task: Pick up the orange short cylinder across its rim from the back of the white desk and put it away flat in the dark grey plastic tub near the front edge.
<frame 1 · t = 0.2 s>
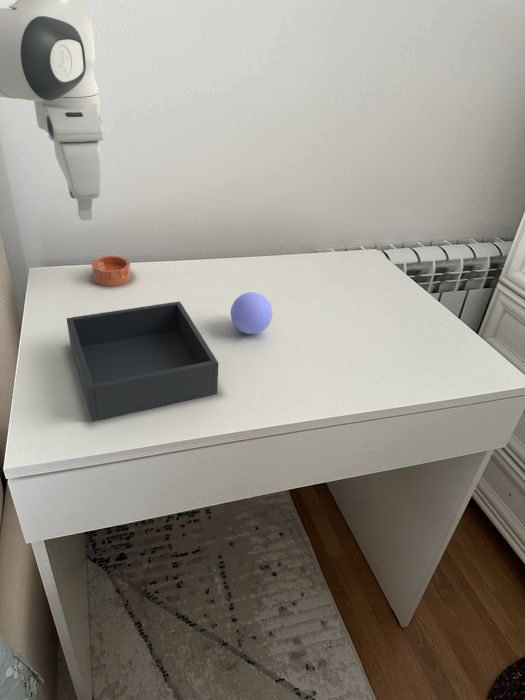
hand: (80, 207, 84), 18 cm above the table, tool pointing down, fingers open, 8 cm apart
sphere: (249, 331, 91), on the table
tub: (141, 370, 80), on the table
orange short cylinder: (112, 277, 102), on the table
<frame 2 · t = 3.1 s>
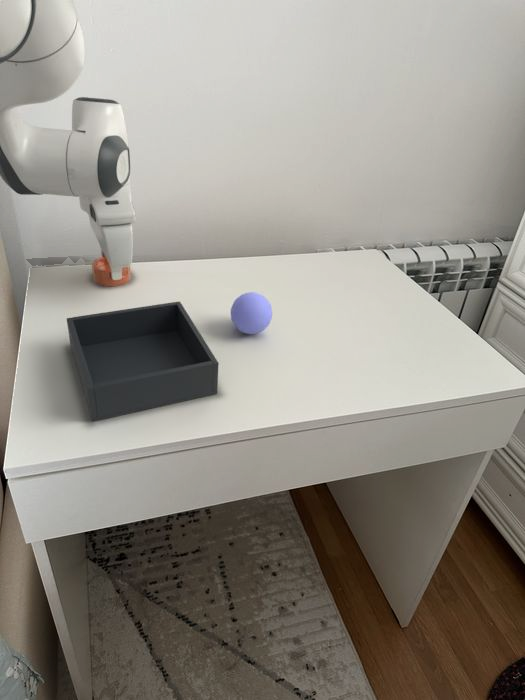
hand: (111, 268, 101), 2 cm above the table, tool pointing down, fingers closed on orange short cylinder, 7 cm apart
orange short cylinder: (112, 277, 102), on the table, touching gripper
everything else where it was.
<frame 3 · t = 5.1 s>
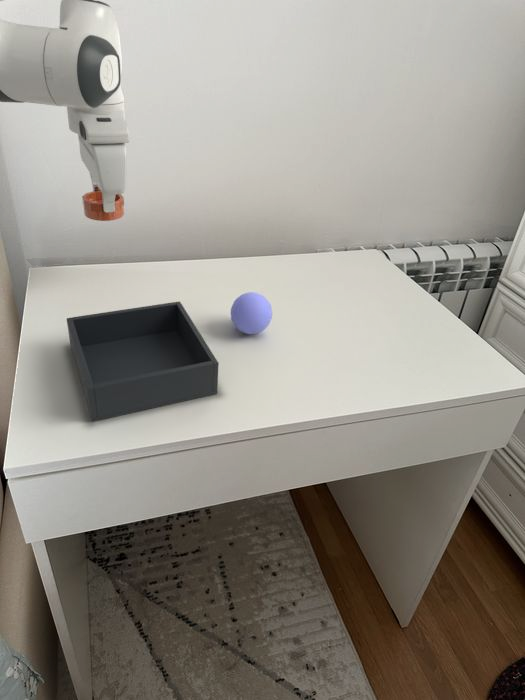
hand: (103, 202, 93), 15 cm above the table, tool pointing down, fingers closed on orange short cylinder, 7 cm apart
orange short cylinder: (104, 213, 95), point 13 cm above the table, touching gripper
everything else where it was.
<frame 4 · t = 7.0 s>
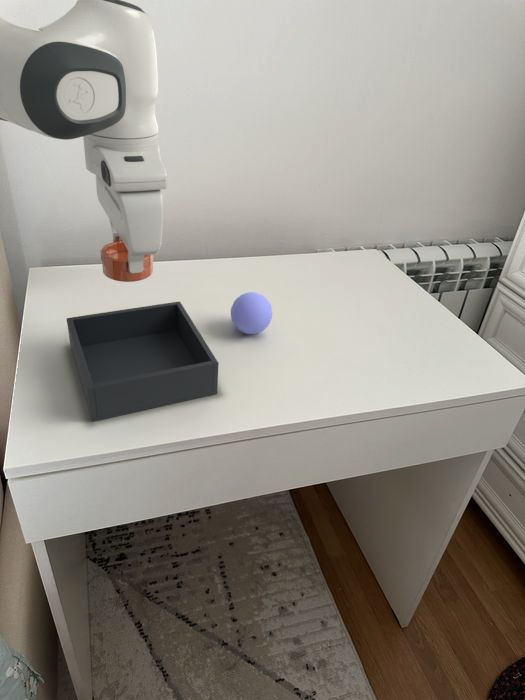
hand: (127, 257, 73), 17 cm above the table, tool pointing down, fingers closed on orange short cylinder, 7 cm apart
orange short cylinder: (128, 270, 74), point 15 cm above the table, touching gripper
everything else where it was.
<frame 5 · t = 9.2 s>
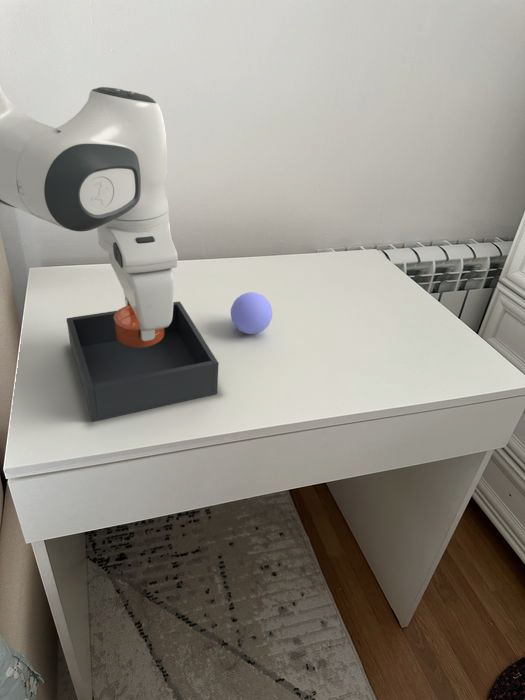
hand: (139, 322, 75), 9 cm above the table, tool pointing down, fingers closed on orange short cylinder, 7 cm apart
orange short cylinder: (140, 334, 76), point 7 cm above the table, touching gripper
everything else where it was.
when the fingers open (2 cm above the table, at t = 11.2 s): orange short cylinder stays where it is, resting on tub.
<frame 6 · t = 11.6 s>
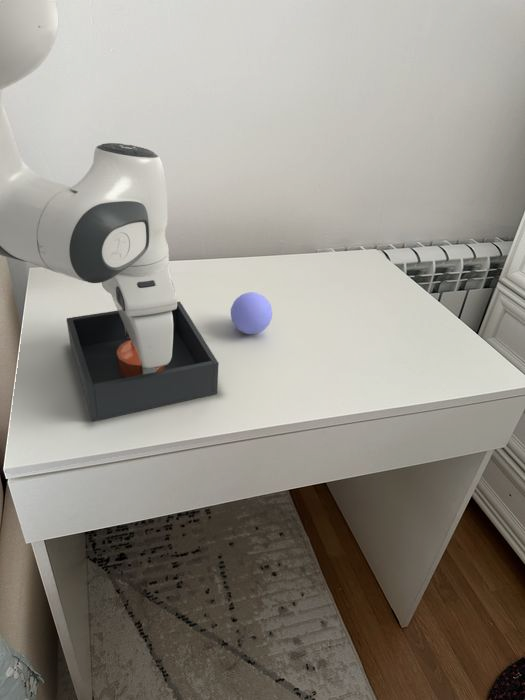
hand: (140, 355, 78), 3 cm above the table, tool pointing down, fingers open, 8 cm apart
orange short cylinder: (142, 367, 80), point 1 cm above the table, touching tub
everything else where it was.
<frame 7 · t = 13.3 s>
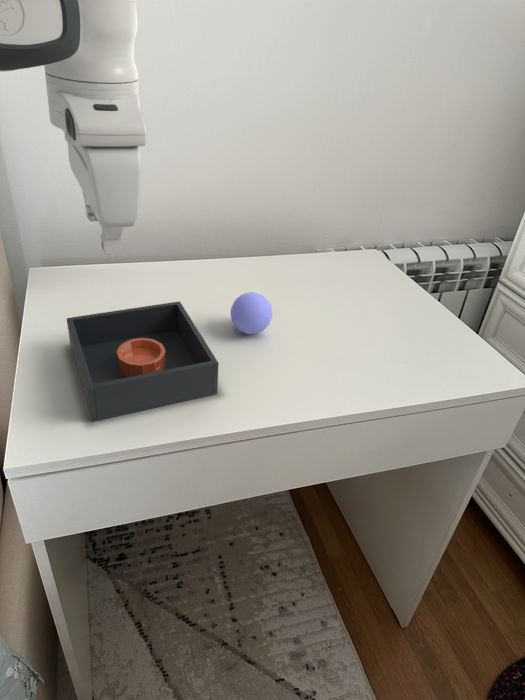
hand: (102, 234, 62), 24 cm above the table, tool pointing down, fingers open, 8 cm apart
nothing on the table moved.
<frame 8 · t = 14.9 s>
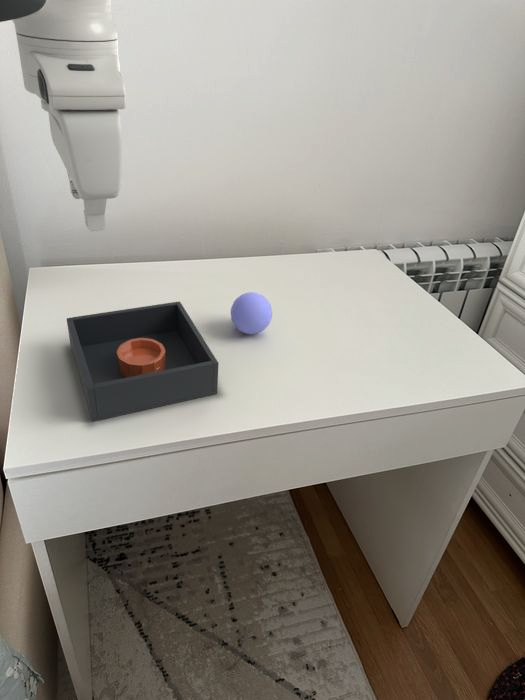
hand: (87, 211, 58), 27 cm above the table, tool pointing down, fingers open, 8 cm apart
nothing on the table moved.
at the end: orange short cylinder inside the target area in the tub (0.1 cm from its centre), point 0.6 cm above the tub's base; orange short cylinder tilted 0°; the gripper is holding nothing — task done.
